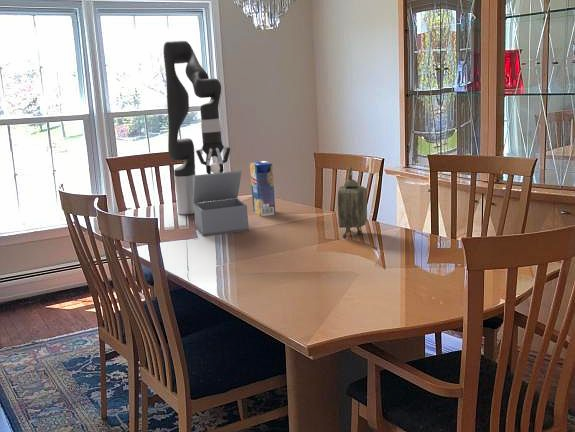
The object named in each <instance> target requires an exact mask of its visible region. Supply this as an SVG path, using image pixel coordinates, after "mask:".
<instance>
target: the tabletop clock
mask: <svg viewBox="0 0 575 432" xmlns="http://www.w3.org/2000/svg"><path fill="white" fill-rule="evenodd" d="M348 178H349V179H347V180H345V182H344V183H343V185H340V186H339V187H338V190H337V216H338V217H337V218H338V228H341V229H342V228H343V229H344V228H345V232H344V233H343V234H342V238H343V239H346V238H347V237H348V235H347V234H348V232H349V231H350V230H351V228H356V230H357V231H356V234H357V235H358V236H360V235H361V234H362V231H361V230H360V228H362V227H364V226H365V225H366V223H367V220H368V203H367V202H368V201H367V200H368V199H367V195H368V194H367V188H366V187H365V186H364V185H363V186H362V185H359V183H358V181H356V180H355V179H353V168H352V166H349V168H348Z"/></svg>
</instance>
